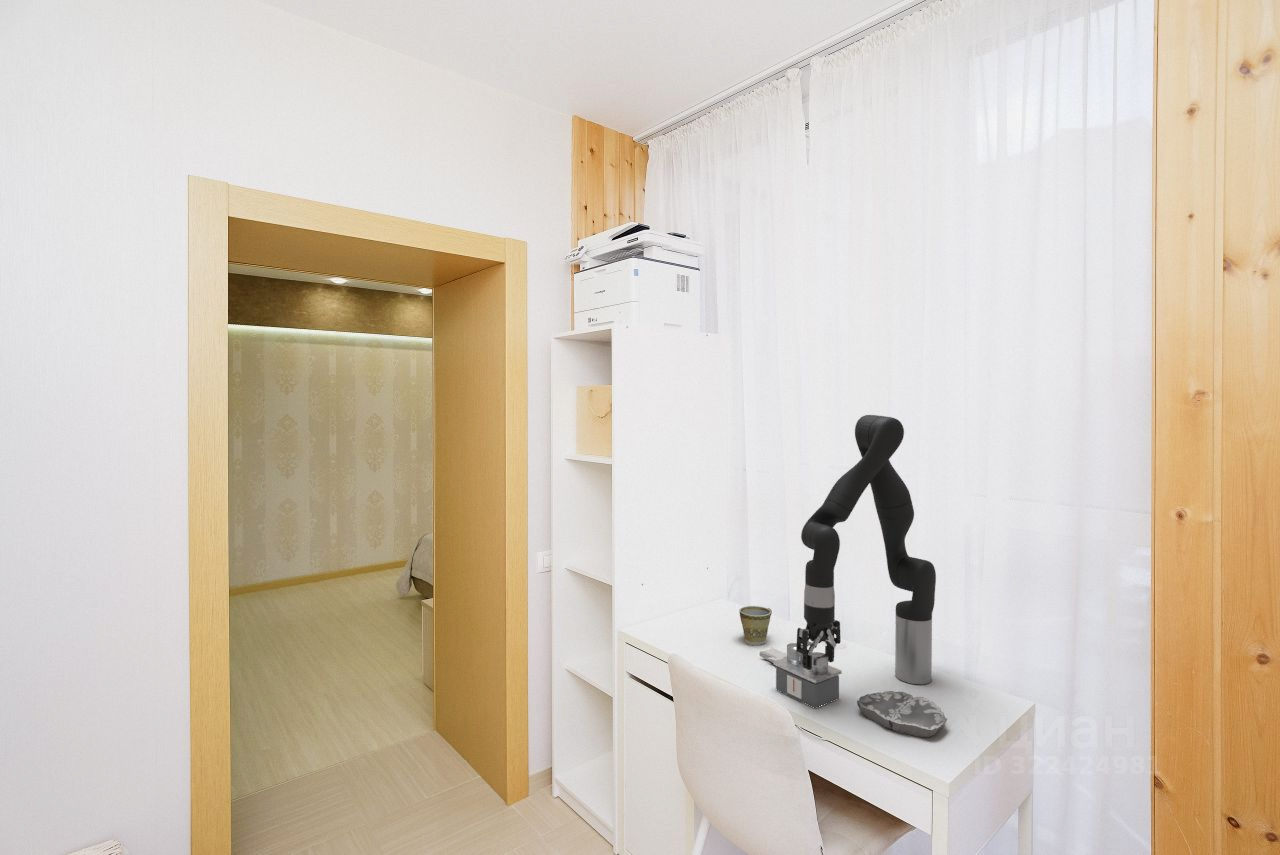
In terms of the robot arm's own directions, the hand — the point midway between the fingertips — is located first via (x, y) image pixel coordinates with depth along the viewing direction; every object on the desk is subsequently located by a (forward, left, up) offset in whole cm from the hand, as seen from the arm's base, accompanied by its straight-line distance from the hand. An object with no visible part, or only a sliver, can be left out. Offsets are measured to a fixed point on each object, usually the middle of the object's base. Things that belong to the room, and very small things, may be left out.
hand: (818, 664), depth 159 cm
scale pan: (-3, -3, -3) cm, 5 cm away
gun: (-19, -7, -10) cm, 23 cm away
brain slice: (+6, +19, -10) cm, 22 cm away
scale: (-3, -3, -9) cm, 10 cm away
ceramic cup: (-39, -15, -9) cm, 43 cm away
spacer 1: (-6, -5, -2) cm, 8 cm away
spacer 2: (0, 0, -2) cm, 2 cm away
